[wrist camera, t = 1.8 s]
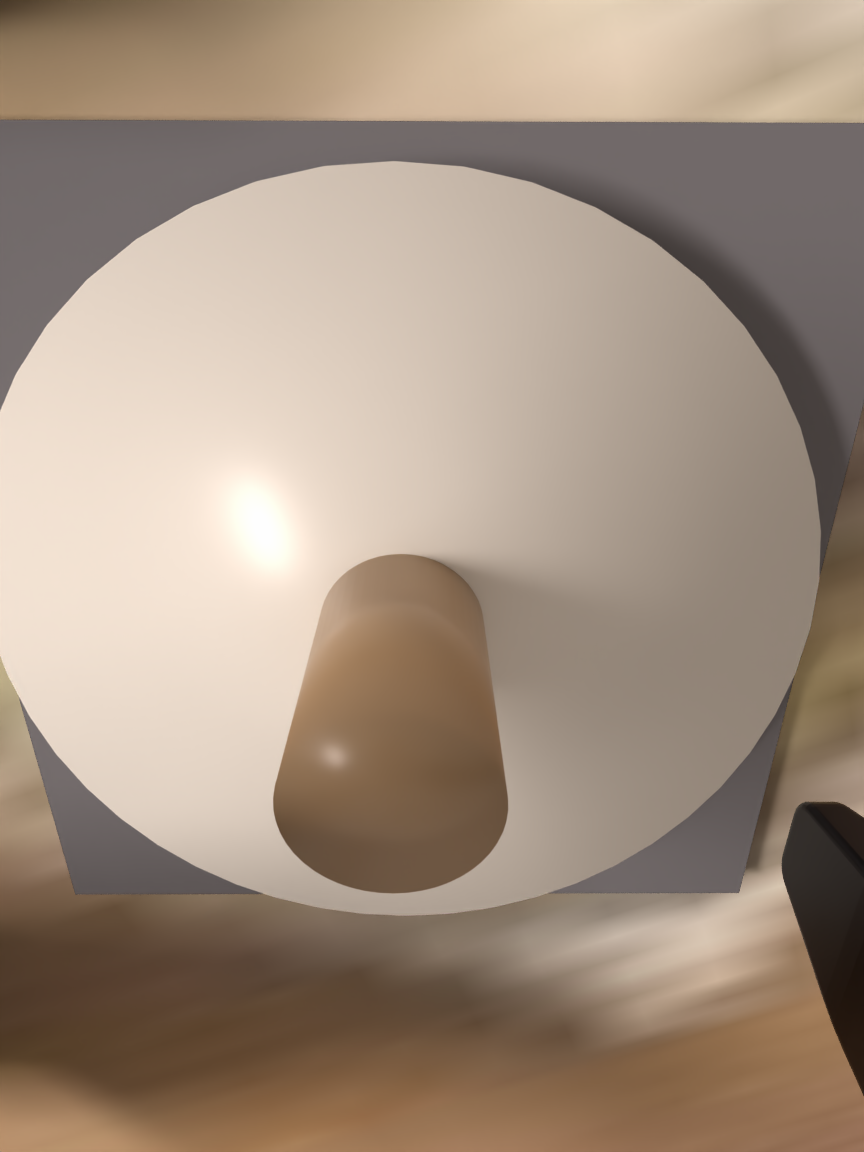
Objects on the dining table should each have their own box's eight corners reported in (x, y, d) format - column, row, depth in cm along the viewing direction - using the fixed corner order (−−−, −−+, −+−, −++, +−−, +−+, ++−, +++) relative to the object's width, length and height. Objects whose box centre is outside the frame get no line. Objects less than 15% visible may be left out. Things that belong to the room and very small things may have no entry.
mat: (728, 869, 16) (739, 893, 16) (87, 871, 16) (75, 894, 16) (907, 127, 10) (934, 123, 10) (-117, 123, 10) (-148, 119, 10)
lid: (718, 874, 16) (836, 1141, 11) (95, 875, 16) (-39, 1145, 11) (884, 167, 10) (1259, 132, 6) (-96, 163, 10) (-527, 126, 5)
